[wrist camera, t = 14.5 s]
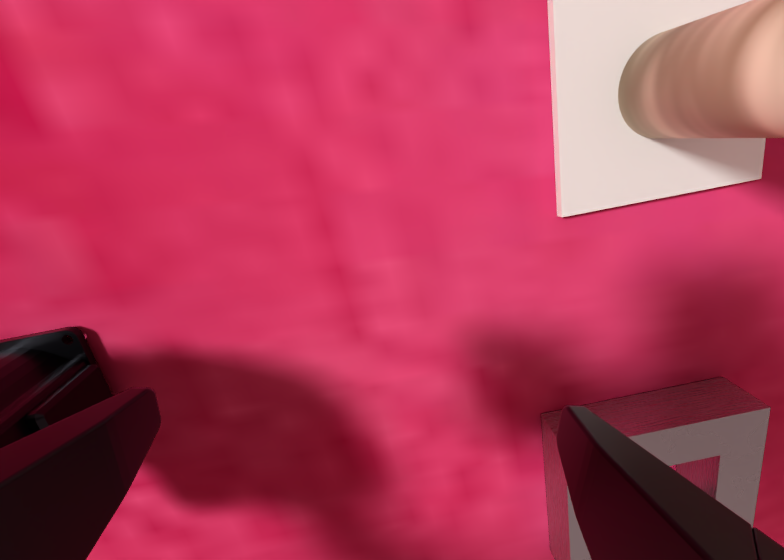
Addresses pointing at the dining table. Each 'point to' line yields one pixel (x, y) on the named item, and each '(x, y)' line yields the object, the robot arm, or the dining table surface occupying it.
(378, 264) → the dining table surface
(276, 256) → the dining table surface
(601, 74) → the white mat
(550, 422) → the socket block
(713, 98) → the birch peg
